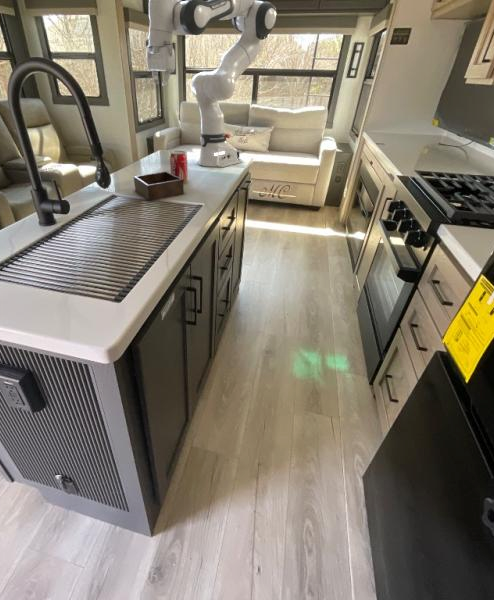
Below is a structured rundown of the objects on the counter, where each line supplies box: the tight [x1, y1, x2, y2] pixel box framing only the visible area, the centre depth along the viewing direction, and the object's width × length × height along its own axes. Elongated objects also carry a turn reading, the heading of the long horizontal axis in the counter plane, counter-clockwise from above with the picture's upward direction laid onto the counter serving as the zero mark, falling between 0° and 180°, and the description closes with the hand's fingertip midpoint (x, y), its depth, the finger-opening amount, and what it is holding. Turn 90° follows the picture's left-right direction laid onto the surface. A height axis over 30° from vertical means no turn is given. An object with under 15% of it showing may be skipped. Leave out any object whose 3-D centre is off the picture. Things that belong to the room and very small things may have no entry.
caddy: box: [133, 170, 185, 201], centre depth 130 cm, size 15×15×6 cm
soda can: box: [169, 150, 188, 184], centre depth 139 cm, size 7×7×12 cm
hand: (160, 85), depth 132 cm, fingers open, 8 cm apart
